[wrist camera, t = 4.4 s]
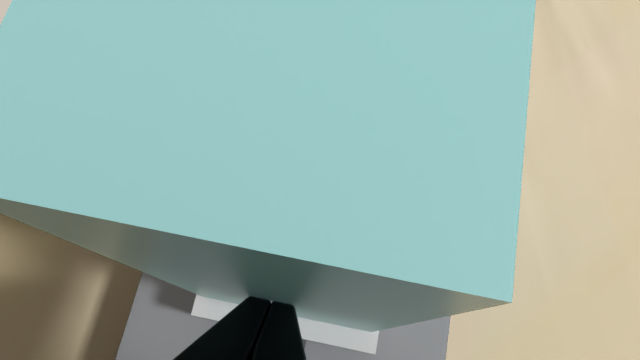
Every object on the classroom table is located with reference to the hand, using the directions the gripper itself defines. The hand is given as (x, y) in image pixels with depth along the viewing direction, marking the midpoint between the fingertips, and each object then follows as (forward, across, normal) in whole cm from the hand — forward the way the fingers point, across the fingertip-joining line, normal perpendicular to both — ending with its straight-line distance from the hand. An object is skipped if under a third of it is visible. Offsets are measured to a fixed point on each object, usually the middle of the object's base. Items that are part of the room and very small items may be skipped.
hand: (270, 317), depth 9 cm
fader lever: (+5, 0, +2) cm, 5 cm away
